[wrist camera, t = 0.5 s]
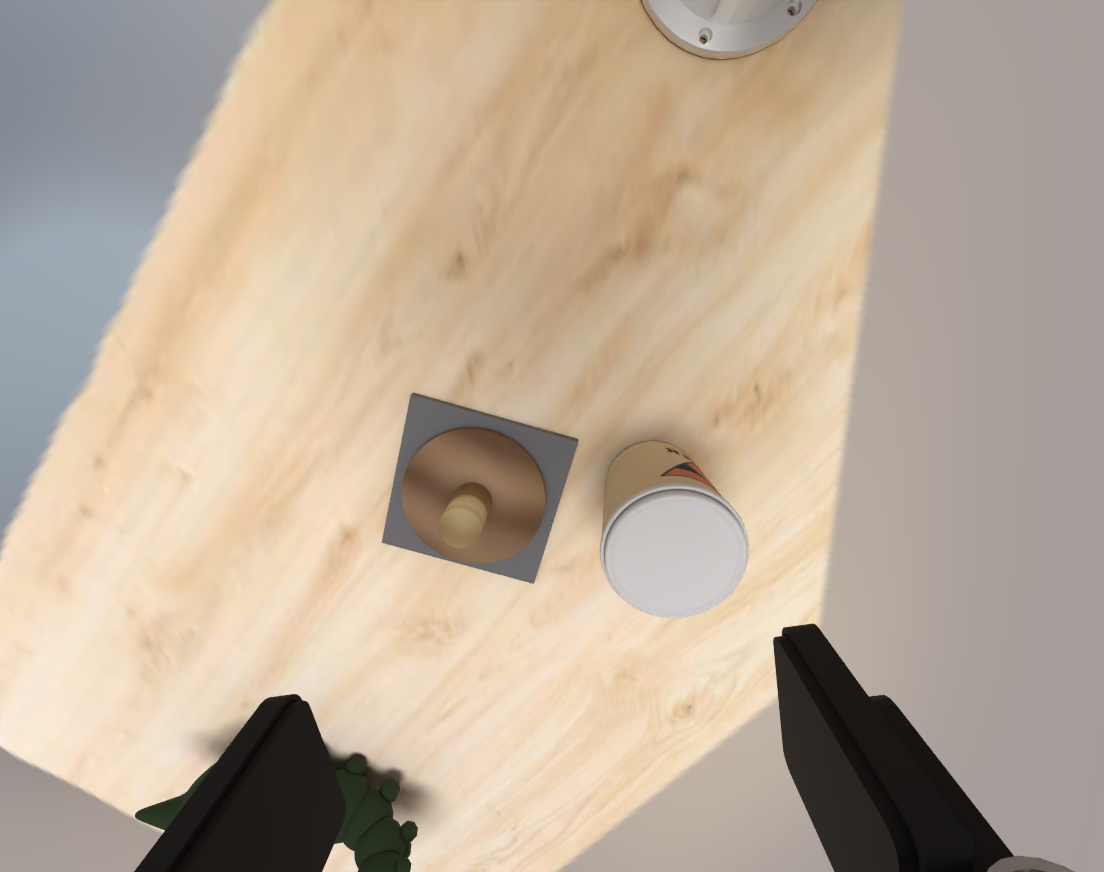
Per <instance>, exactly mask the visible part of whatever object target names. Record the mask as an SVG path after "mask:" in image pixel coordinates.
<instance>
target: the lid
mask: <svg viewBox="0 0 1104 872" xmlns="http://www.w3.org/2000/svg"><path fill="white" fill-rule="evenodd" d="M401 498H402V505H403V509H404V512H405V516H406V518H407V520H408V522H409V524H410V526H411V527H412V529H413V531H414V532H415V533H416V534H417V536H418V537H419V538H420V539H421V540H422V541H423V542H424V543H425V544H426V545H427V546H429V547H430V548H431V549H433V550H434V551H436V552H437V553H439V554H441V555H443V556H445V557H447V558H450V559H453V560H456V561H459V562H464V563H472V564H485V563H492V562H497V561H500V560H503V559H506V558H508V557H510V556H512V555H514V554H516V553H518V552H519V551H520V550H522V549H523V548H524V547H525V546H526V545H527V544H528V543H529V542H530V541H531V540H532V539H533V537H534V536H535V535H536V533H537V531H538V529H539V527H540V525H541V522H542V520H543V515H544V511H545V503H546V489H545V483H544V479H543V476H542V473H541V471H540V469H539V467H538V465H537V463H536V462H535V460H534V459H533V457H532V456H531V455H530V454H529V453H528V451H527V450H526V449H525V448H524V447H522V446H521V445H520V444H519V443H518V442H516V441H515V440H513V439H512V438H510V437H508V436H506V435H504V434H502V433H500V432H497V431H494V430H491V429H486V428H480V427H462V428H456V429H452V430H449V431H446V432H443V433H441V434H439V435H437V436H435V437H434V438H432V439H431V440H429V441H428V442H427V443H426V444H425V445H424V446H423V447H422V448H421V449H420V450H419V451H418V452H417V453H416V455H415V456H414V457H413V458H412V460H411V461H410V463H409V464H408V467H407V469H406V471H405V474H404V477H403V481H402V488H401Z"/></svg>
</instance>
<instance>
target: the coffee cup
mask: <svg viewBox="0 0 1104 872" xmlns="http://www.w3.org/2000/svg"><path fill="white" fill-rule="evenodd" d="M748 555H749V540H748V535H747V531H746V529H745V526H744V523H743V521H742V519H741V518H740V516H739V515H738V513H737V512H736V511H735V509H734V508H733V507H732V506H731V505H730V504H729V503H728V502H727V501H726V500H725V499H724V498H723V497H722V496H721V495H720V494H719V492H718V491H717V490H716V489H715V487H714V486H713V485H712V484H711V482H710V481H709V480H708V479H707V478H706V476H705V475H704V474H703V473H702V472H701V470H700V469H699V468H698V467H697V466H696V464H695V463H694V462H693V461H692V460H691V459H690V458H689V457H688V456H687V455H686V454H685V453H684V452H683V451H682V450H680V449H679V448H677V447H676V446H674V445H671V444H669V443H665V442H660V441H646V442H641V443H638V444H635V445H633V446H631V447H629V448H627V449H625V450H624V451H623V452H622V453H620V454H619V455H618V456H617V457H616V459H615V460H614V461H613V462H612V464H611V466H610V468H609V470H608V473H607V476H606V482H605V493H604V510H603V530H602V538H601V544H600V559H601V565H602V568H603V571H604V574H605V576H606V578H607V580H608V582H609V584H610V585H611V587H612V588H613V589H614V590H615V592H616V593H617V594H618V595H619V596H620V597H621V598H623V599H624V600H625V601H626V602H628V603H629V604H630V605H632V606H633V607H635V608H636V609H638V610H640V611H642V612H645V613H647V614H651V615H654V616H659V617H666V618H681V617H689V616H693V615H697V614H700V613H703V612H705V611H707V610H709V609H711V608H713V607H715V606H717V605H718V604H720V603H721V602H722V601H724V600H725V599H726V598H727V597H728V596H729V595H730V594H731V593H732V592H733V591H734V590H735V588H736V587H737V585H738V584H739V582H740V580H741V579H742V576H743V574H744V571H745V568H746V565H747V561H748Z"/></svg>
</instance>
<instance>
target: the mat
mask: <svg viewBox="0 0 1104 872" xmlns="http://www.w3.org/2000/svg"><path fill="white" fill-rule="evenodd" d="M462 427H480V428H486V429H491V430H494V431H497V432H500V433H502V434H504V435H506V436H508V437H510V438H512V439H513V440H515V441H516V442H518V443H519V444H520V445H521V446H522V447H524V448H525V449H526V450H527V451H528V453H529V454H530V455H531V456H532V457H533V459H534V460H535V462H536V463H537V465H538V467H539V469H540V471H541V473H542V476H543V479H544V483H545V489H546V503H545V511H544V515H543V520H542V522H541V525H540V527H539V529H538V531H537V533H536V535H535V536H534V537H533V539H532V540H531V541H530V542H529V543H528V544H527V545H526V546H525V547H524V548H523V549H522V550H520V551H519V552H518V553H516V554H514V555H512V556H510V557H508V558H506V559H503V560H500V561H497V562H492V563H485V564H472V563H464V562H459V561H456V560H453V559H450V558H447V557H445V556H443V555H441V554H439V553H437V552H436V551H434V550H433V549H431V548H430V547H429V546H427V545H426V544H425V543H424V542H423V541H422V540H421V539H420V538H419V537H418V536H417V534H416V533H415V532H414V531H413V529H412V527H411V526H410V524H409V522H408V520H407V518H406V516H405V512H404V509H403V505H402V498H401V488H402V481H403V477H404V474H405V471H406V469H407V467H408V464H409V463H410V461H411V460H412V458H413V457H414V456H415V455H416V453H417V452H418V451H419V450H420V449H421V448H422V447H423V446H424V445H425V444H426V443H427V442H428V441H429V440H431V439H432V438H434V437H435V436H437V435H439V434H441V433H443V432H446V431H449V430H452V429H456V428H462ZM577 443H578V439H574V438H571V437H567V436H564V435H560V434H557V433H553V432H549V431H546V430H542V429H539V428H535V427H532V426H528V425H525V424H521V423H518V422H514V421H510V420H507V419H503V418H500V417H496V416H493V415H489V414H486V413H482V412H478V411H475V410H471V409H468V408H464V407H461V406H457V405H454V404H450V403H447V402H443V401H439V400H436V399H432V398H429V397H425V396H422V395H418V394H415V393H413V394H411V396H410V401H409V406H408V412H407V417H406V422H405V427H404V432H403V437H402V442H401V447H400V452H399V457H398V462H397V468H396V473H395V478H394V483H393V488H392V493H391V498H390V503H389V508H388V513H387V518H386V524H385V529H384V534H383V539H382V543H385V544H389V545H392V546H396V547H400V548H404V549H407V550H411V551H415V552H418V553H422V554H426V555H429V556H433V557H437V558H440V559H444V560H448V561H452V562H455V563H459V564H463V565H466V566H470V567H474V568H477V569H481V570H485V571H488V572H492V573H496V574H500V575H503V576H507V577H511V578H514V579H518V580H522V581H525V582H529V583H533V584H534V581H535V578H536V575H537V572H538V568H539V565H540V562H541V559H542V556H543V552H544V549H545V546H546V543H547V540H548V536H549V533H550V530H551V527H552V524H553V520H554V517H555V514H556V511H557V507H558V504H559V501H560V498H561V495H562V491H563V488H564V485H565V482H566V479H567V475H568V472H569V469H570V466H571V463H572V459H573V456H574V453H575V450H576V447H577Z"/></svg>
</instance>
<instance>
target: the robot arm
mask: <svg viewBox="0 0 1104 872" xmlns="http://www.w3.org/2000/svg"><path fill="white" fill-rule="evenodd" d="M816 1H817V0H642V2H643V5H644V7H645V10H646V11H647V13H648V14H649V16H650V17H651V19H652V21H653V22H654V24H655V25H656V27H657V28H658V29H659V30H660V31H661V32H662V33H663V34H664V35H665V36H666V37H667V38H668V39H669V40H670V41H672V42H673V43H675V44H676V45H678V46H679V47H681V48H682V49H684V50H686V51H688V52H691V53H694V54H696V55H699V56H702V57H708V58H715V59H728V58H739V57H742V56H746V55H749V54H752V53H755V52H758V51H760V50H762V49H764V48H766V47H768V46H769V45H771V44H773V43H775V42H777V41H778V40H779V39H780V38H782V37H783V36H784V35H785V34H787V33H788V32H789V31H790V30H792V29H793V28H794V27H795V26H796V25H797V24H798V22H799V21H800V20H801V19H802V18H803V17H804V16H805V15H806V14H807V12H808V11H809V10H810V8H811V7H812V6H813V5H814V3H815V2H816ZM787 10H791V11H792V13H793V16H791V15H790V14H788V11H787ZM701 37H704V38H705V39H706V43H705V44H703V43H701V42H700V41H699V38H701ZM773 644H774V655H775V666H776V677H777V688H778V699H779V709H780V720H781V730H782V742H783V751H784V755H785V759H786V763H787V766H788V769H789V771H790V774H791V776H792V778H793V780H794V783H795V785H796V787H797V789H798V792H799V794H800V796H801V798H802V800H803V803H804V805H805V807H806V809H807V811H808V814H809V816H810V818H811V820H812V823H813V825H814V827H815V829H816V832H817V834H818V836H819V838H820V841H821V843H822V845H823V847H824V849H825V851H826V854H827V856H828V858H829V861H830V863H831V865H832V867H833V869H834V872H1074V871H1072V870H1070V869H1068V868H1066V867H1064V866H1061V865H1058V864H1055V863H1053V862H1050V861H1047V860H1043V859H1041V858H1033V857H1024V856H1013V855H1012V853H1011V852H1010V850H1009V849H1008V848H1007V847H1006V845H1005V844H1004V843H1003V841H1002V840H1001V839H1000V838H999V836H998V835H997V834H996V832H995V831H994V830H993V829H992V827H991V826H990V825H989V823H988V822H987V821H986V820H985V818H984V817H983V816H982V814H981V813H980V812H979V811H978V809H977V808H976V807H975V805H974V804H973V803H972V802H971V800H970V799H969V798H968V797H967V795H966V794H965V793H964V791H963V790H962V789H961V787H960V786H959V785H958V784H957V782H956V781H955V780H954V779H953V777H952V776H951V775H950V773H949V772H948V771H947V770H946V768H945V767H944V766H943V764H942V763H941V762H940V761H939V760H938V758H937V757H936V755H935V754H934V753H933V751H932V750H931V749H930V748H929V746H928V745H927V744H926V742H925V741H924V740H923V739H922V737H921V736H920V735H919V734H918V732H917V731H916V730H915V728H914V727H913V726H912V725H911V723H910V722H909V721H908V719H907V718H906V717H905V716H904V714H903V713H902V712H901V711H900V709H899V708H898V707H897V705H896V704H895V703H894V702H893V701H892V700H891V699H890V698H889V697H887V696H885V695H879V696H871V697H869V696H868V695H867V694H866V692H865V691H864V690H863V688H862V687H861V685H860V684H859V683H858V681H857V680H856V679H855V677H854V676H853V675H852V673H851V672H850V670H849V669H848V668H847V666H846V665H845V663H844V662H843V661H842V659H841V658H840V657H839V655H838V654H837V652H836V651H835V650H834V648H833V647H832V646H831V644H830V643H829V642H828V640H827V639H826V637H825V636H824V635H823V633H822V632H821V630H820V629H819V628H818V627H817V626H816V625H815V624H807V625H799V626H792V627H785V628H783V630H782V636H780V637H775V638H774V640H773ZM345 814H346V801H345V798H344V795H343V792H342V790H341V787H340V784H339V782H338V779H337V776H336V774H335V771H334V769H333V766H332V763H331V761H330V758H329V755H328V753H327V750H326V748H325V745H324V742H323V740H322V737H321V734H320V732H319V729H318V726H317V724H316V721H315V719H314V716H313V713H312V711H311V708H310V706H309V704H308V702H306V701H302V699H301V697H300V696H298V695H297V694H291V695H284V696H277V697H269V698H267V699H265V700H264V701H263V702H262V703H261V704H260V705H259V707H258V708H257V709H256V711H255V712H254V713H253V715H252V716H251V717H250V719H249V720H248V721H247V723H246V724H245V725H244V727H243V728H242V729H241V731H240V732H239V733H238V735H237V736H236V737H235V739H234V740H233V741H232V743H231V744H230V745H229V747H228V748H227V749H226V751H225V752H224V753H223V755H222V756H221V757H220V759H219V760H218V761H217V763H216V764H215V765H214V766H213V768H212V769H211V770H210V772H209V773H208V774H207V776H206V777H205V778H204V780H203V781H202V782H201V784H200V785H199V786H198V788H197V789H196V790H195V792H194V793H193V794H192V796H191V797H190V798H189V800H188V801H187V802H186V804H185V805H184V806H183V808H182V809H181V810H180V812H179V813H178V814H177V816H176V817H175V818H174V820H173V821H172V822H171V823H170V825H169V826H168V827H167V829H166V830H165V831H164V833H163V834H162V835H161V837H160V838H159V839H158V841H157V842H156V843H155V845H154V846H153V848H152V849H151V850H150V851H149V853H148V854H147V855H146V857H145V858H144V859H143V861H142V862H141V864H140V865H139V866H138V867H137V869H136V870H135V871H134V872H322V871H323V868H324V866H325V864H326V861H327V859H328V857H329V854H330V852H331V850H332V847H333V845H334V843H335V841H336V838H337V836H338V834H339V831H340V829H341V827H342V824H343V822H344V819H345Z"/></svg>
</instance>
